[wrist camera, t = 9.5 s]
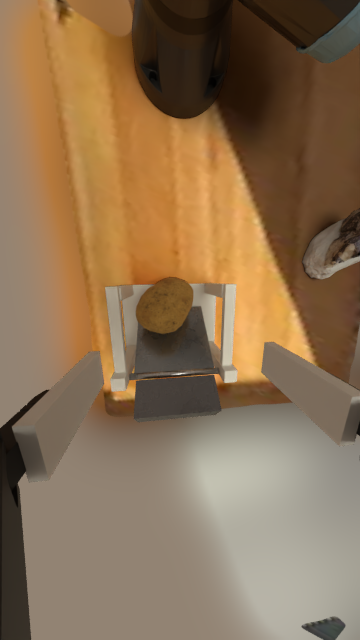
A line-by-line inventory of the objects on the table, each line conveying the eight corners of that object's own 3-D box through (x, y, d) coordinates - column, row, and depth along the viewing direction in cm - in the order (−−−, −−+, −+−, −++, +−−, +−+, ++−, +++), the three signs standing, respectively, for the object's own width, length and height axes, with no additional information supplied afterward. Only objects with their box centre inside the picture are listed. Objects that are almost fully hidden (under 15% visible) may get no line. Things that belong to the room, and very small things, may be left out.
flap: (138, 318, 37) (135, 306, 34) (201, 315, 39) (204, 303, 35) (130, 423, 25) (124, 419, 22) (222, 414, 27) (229, 409, 24)
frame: (121, 285, 35) (94, 287, 21) (215, 283, 37) (246, 284, 23) (128, 364, 39) (110, 409, 25) (213, 359, 41) (238, 398, 27)
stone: (313, 290, 41) (348, 279, 27) (285, 259, 43) (305, 235, 29) (376, 249, 37) (457, 211, 23) (343, 217, 38) (399, 164, 24)
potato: (131, 334, 31) (116, 304, 26) (166, 295, 39) (159, 267, 34) (174, 348, 27) (165, 317, 22) (203, 302, 35) (201, 271, 30)
